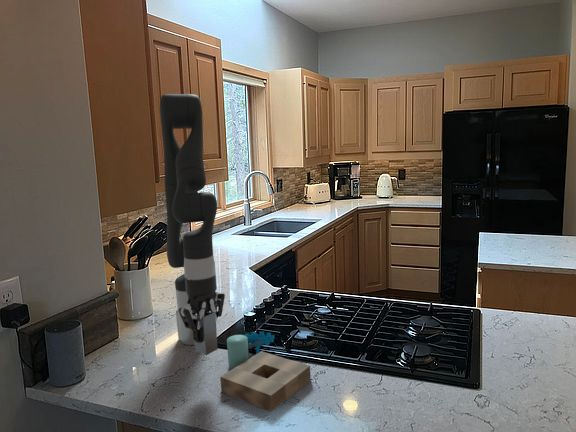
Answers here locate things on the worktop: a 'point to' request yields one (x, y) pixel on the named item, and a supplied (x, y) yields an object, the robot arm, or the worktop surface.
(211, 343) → the square peg
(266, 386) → the socket block
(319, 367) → the worktop surface
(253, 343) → the gear
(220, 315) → the robot arm
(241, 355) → the round peg
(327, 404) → the worktop surface
